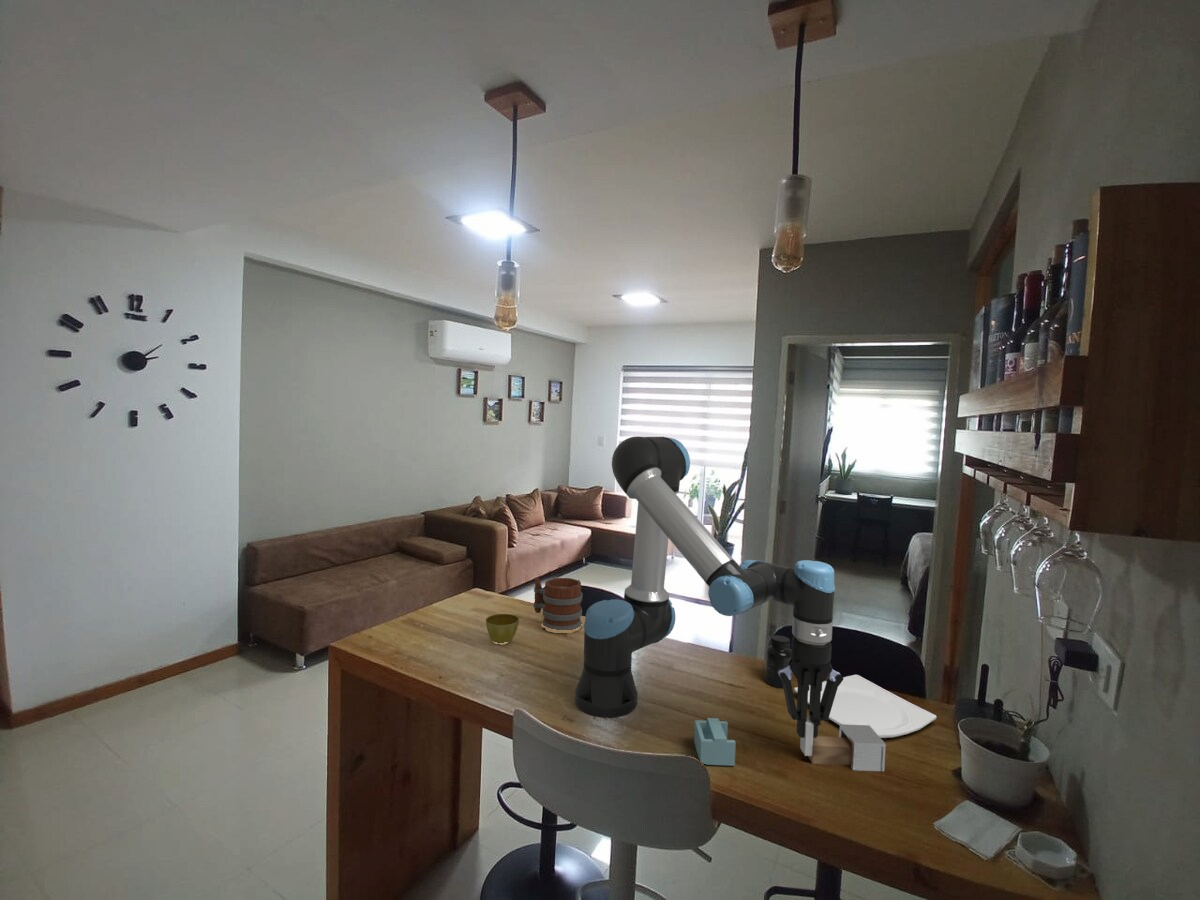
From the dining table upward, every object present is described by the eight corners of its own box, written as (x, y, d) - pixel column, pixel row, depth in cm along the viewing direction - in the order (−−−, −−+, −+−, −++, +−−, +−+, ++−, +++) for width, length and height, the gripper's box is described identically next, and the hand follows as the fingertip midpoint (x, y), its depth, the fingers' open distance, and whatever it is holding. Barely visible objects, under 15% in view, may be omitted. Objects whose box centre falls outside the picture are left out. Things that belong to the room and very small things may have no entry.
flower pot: (502, 633, 170) (503, 611, 170) (525, 641, 164) (526, 618, 164) (478, 642, 162) (478, 619, 161) (501, 651, 156) (501, 627, 156)
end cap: (852, 770, 106) (854, 742, 106) (838, 750, 112) (839, 724, 112) (884, 771, 106) (885, 743, 105) (867, 751, 112) (869, 725, 112)
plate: (869, 751, 113) (869, 739, 113) (786, 697, 135) (786, 686, 135) (945, 729, 123) (945, 717, 122) (855, 681, 145) (856, 671, 145)
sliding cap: (700, 764, 106) (701, 738, 105) (694, 741, 113) (695, 717, 113) (734, 765, 105) (735, 739, 105) (726, 743, 113) (727, 718, 113)
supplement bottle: (793, 690, 138) (795, 645, 138) (766, 687, 139) (768, 642, 139) (789, 678, 145) (791, 635, 144) (763, 675, 146) (765, 632, 146)
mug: (565, 638, 168) (566, 591, 167) (520, 624, 178) (521, 579, 178) (591, 625, 179) (592, 581, 178) (547, 612, 190) (548, 571, 189)
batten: (812, 764, 108) (813, 745, 107) (805, 754, 111) (806, 735, 111) (872, 767, 107) (873, 748, 107) (863, 756, 111) (864, 738, 111)
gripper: (785, 644, 104) (780, 762, 105) (852, 647, 104) (846, 764, 105) (773, 630, 112) (768, 739, 113) (835, 632, 112) (830, 742, 113)
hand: (806, 751), depth 109 cm, fingers closed
